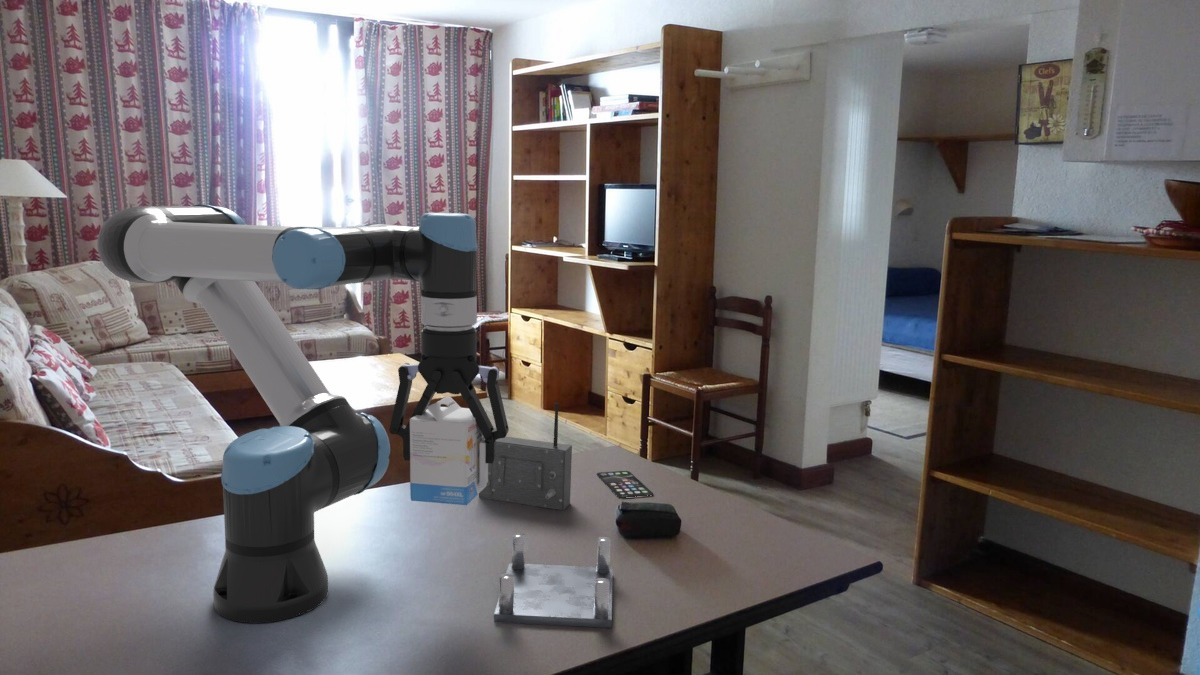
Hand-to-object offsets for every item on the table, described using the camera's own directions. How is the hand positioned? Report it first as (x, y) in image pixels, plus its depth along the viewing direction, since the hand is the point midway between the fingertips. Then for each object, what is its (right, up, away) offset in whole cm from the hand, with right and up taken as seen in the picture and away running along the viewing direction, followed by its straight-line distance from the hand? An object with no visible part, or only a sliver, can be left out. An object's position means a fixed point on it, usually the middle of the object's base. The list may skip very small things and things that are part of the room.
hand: (449, 483), depth 122 cm
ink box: (0, -2, 0) cm, 2 cm away
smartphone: (+26, -9, +51) cm, 58 cm away
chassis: (+15, -17, +3) cm, 23 cm away
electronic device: (+6, -11, +39) cm, 41 cm away
